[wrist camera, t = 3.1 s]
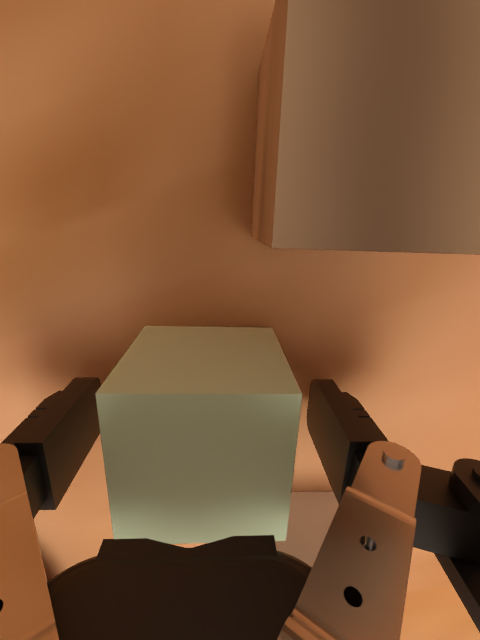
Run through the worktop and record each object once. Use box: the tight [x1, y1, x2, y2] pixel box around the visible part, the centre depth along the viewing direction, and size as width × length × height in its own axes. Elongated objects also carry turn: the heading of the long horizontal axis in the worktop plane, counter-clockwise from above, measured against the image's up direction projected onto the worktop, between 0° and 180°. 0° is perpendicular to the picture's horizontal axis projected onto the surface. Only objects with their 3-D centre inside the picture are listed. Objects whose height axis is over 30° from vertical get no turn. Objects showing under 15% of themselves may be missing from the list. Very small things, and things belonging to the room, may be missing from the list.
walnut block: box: [252, 0, 480, 255], centre depth 8 cm, size 5×5×5 cm
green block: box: [95, 326, 302, 544], centre depth 11 cm, size 5×5×5 cm
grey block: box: [275, 491, 339, 567], centre depth 13 cm, size 5×5×5 cm
